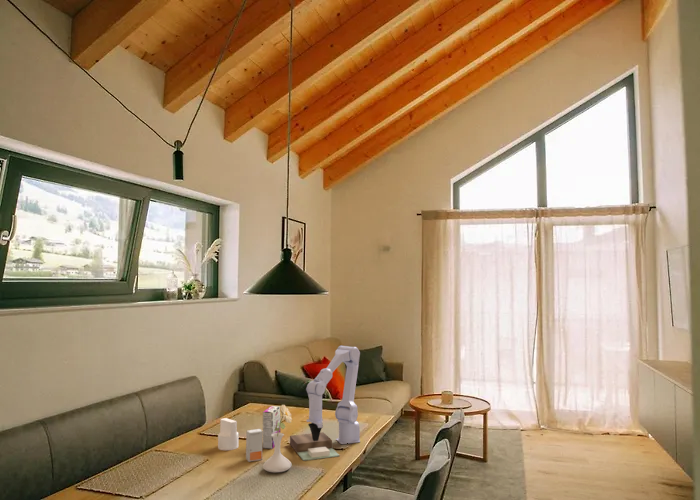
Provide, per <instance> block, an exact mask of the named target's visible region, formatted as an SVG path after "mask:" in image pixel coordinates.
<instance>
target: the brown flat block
mask: <svg viewBox="0 0 700 500" xmlns="http://www.w3.org/2000/svg"><path fill="white" fill-rule="evenodd" d="M289 446H290V447H292V449H293V450H294V451H295V452H296V453H297V452H304V451H308V449H309V448H318V447H326V448H327V449H330V448H333V439H332V438H330V437H329V436H328V435H327V434H326V433H324V431H323V432H321V431H320V435H319V439H318V441H313V438H312V433H305V434H304V433H303V434H296V435H293V434H292V435H290V436H289Z"/></svg>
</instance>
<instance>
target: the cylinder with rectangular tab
mask: <svg viewBox="0 0 700 500" xmlns="http://www.w3.org/2000/svg"><path fill="white" fill-rule="evenodd" d="M219 420H220V423H219V424H220V426H219V427H220V429H219V431H220V432H219V433H218V434H217V449H218V450H219V451H233V450H236V449H238V448H239V431H237V430H238V428H237V427H238V426H237V425H238V422H237V420H233V419H231V418H227V417H225V418H220V419H219Z"/></svg>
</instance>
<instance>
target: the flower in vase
mask: <svg viewBox="0 0 700 500" xmlns="http://www.w3.org/2000/svg"><path fill="white" fill-rule="evenodd" d="M280 414H281V415H282V416H281V417H280V424H279V428H277V427H275V429H274V430H275V431H278V433H274V434H271V436H272V437H273V440H274V445H275V447H274V449H273V451H274V452H273V453H272V455H271V456H270V457H268V459H266V460H265V461H264V463H263V465H262V469H263V470H264V471H267V472H269V473H283V472H286V471H288V470H290V469H291V467H292V462H291V461H290V460H289V459H288V458H287V457H285V456H284V455H283V454H282V453H281V444H282V443H281V442H282V440H283V439H282V438H283V437H284V436H285V434H284V433H283V432H280V433H279V430H280V431H281V430H284V429H285V428H286V424H285V423H284V422H282V421H283V419H284V421H285V422H286V423H287V424H290V423H292V421H293V419H292V413H291V412H290V411H289V408H288V407H286V405H285V404H281V405H280Z"/></svg>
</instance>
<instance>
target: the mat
mask: <svg viewBox="0 0 700 500" xmlns="http://www.w3.org/2000/svg"><path fill="white" fill-rule="evenodd" d="M328 450H330V455H329V456H321V457H313V458H312V457H311V456H310V455H309V454H308V451H304V452H296V454H297V455H298V456H299V457H300V458H301V460H302V461H305V462H306V461H313V460H320V459H327V458H329V459H330V458H335V457H340V456H341V455H340V454H339V453H338V452H337V451H336V450H335V449H334V448H333V447H332V448H330V449H328Z"/></svg>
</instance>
